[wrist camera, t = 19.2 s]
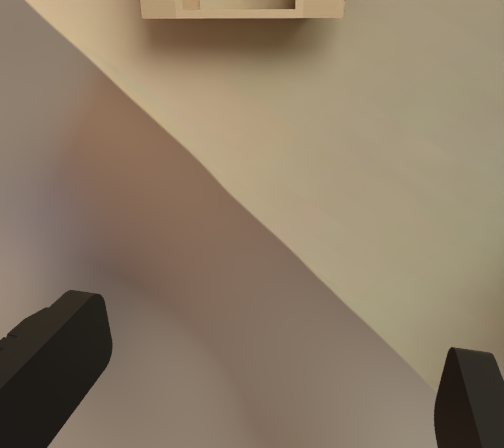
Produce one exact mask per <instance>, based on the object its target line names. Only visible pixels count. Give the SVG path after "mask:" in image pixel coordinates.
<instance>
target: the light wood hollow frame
mask: <svg viewBox="0 0 504 448" xmlns="http://www.w3.org/2000/svg"><path fill="white" fill-rule="evenodd" d="M140 5H141V15H142V19H194V18H344V6H345V0H296V1H295V9H260V10H200V7H199V0H140Z"/></svg>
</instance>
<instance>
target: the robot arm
mask: <svg viewBox="0 0 504 448" xmlns="http://www.w3.org/2000/svg"><path fill="white" fill-rule="evenodd" d="M111 354H112V338H111V333H110V327H109V322H108V317H107V311H106V306H105V301H104V299H103V297H102V296H101V295H100V294H95V293H89V292H82V291H75V290H70V291H67V292H66V293H64V294H63V295H62V296H61V297H60V298H59V299H58V300H57V301H56V302H54V304H52V305H51V306H50V307H49V308H47V307H46V308H44V309H42V310H40V311H39V312H37V313H35V314H33V315H31V316H29V317H27V318H25V319H24V320H23V321H22V322H20V323H19V324H18V325H17V326H16V327H15V328H14V329H12V331H10V332H9V333H8V334H7V337H6V338H5V337H3V338H2V339H1V340H0V448H47V447H48V446H49V444H50V443H51V442H52V440H53V439H54V437H55V436H56V435H57V433H58V432H59V431H60V429H61V428H62V427H63V425H64V424H65V423H66V421H67V420H68V419H69V417H70V416H71V414H72V413H73V412H74V410H75V409H76V408H77V406H78V405H79V404H80V402H81V401H82V400H83V398H84V397H85V395H86V394H87V393H88V391H89V390H90V388H91V387H92V386H93V385H94V383H95V382H96V381H97V379H98V378H99V376H100V375H101V374H102V372H103V371H104V370H105V368H106V367H107V365H108V363H109V361H110V357H111ZM434 426H435V434H436V440H437V446H438V448H504V380H503V378H502V375H501V373H500V370H499V367H498V365H497V362H496V360H495V358H494V356H493V354H491V353H488V352H482V351H475V350H468V349H461V348H455V347H451V348H450V349H449V351H448V354H447V357H446V361H445V365H444V369H443V373H442V377H441V381H440V385H439V389H438V393H437V397H436V401H435V409H434Z"/></svg>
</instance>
